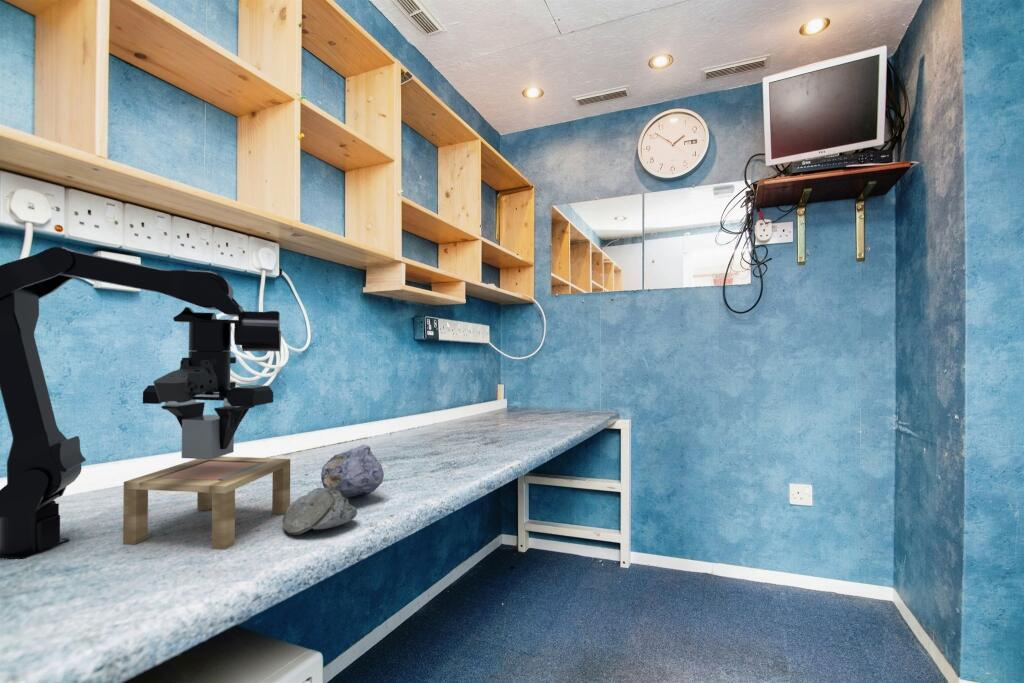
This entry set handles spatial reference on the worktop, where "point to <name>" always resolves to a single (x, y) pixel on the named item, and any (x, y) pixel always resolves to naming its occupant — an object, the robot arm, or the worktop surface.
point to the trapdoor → (213, 470)
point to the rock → (353, 472)
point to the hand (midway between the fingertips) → (208, 448)
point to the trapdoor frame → (204, 496)
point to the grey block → (203, 438)
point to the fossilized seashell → (318, 511)
